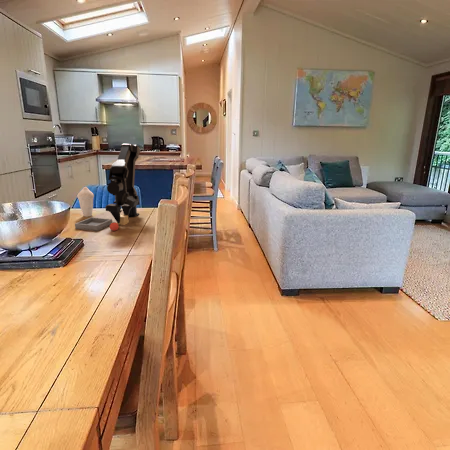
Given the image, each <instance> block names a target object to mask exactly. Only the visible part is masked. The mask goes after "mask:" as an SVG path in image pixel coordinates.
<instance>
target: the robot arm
mask: <svg viewBox="0 0 450 450" xmlns="http://www.w3.org/2000/svg"><path fill="white" fill-rule="evenodd" d="M140 153H141V148H140V146H138V144H132V143H122V144H121V146H120V151H119V154H118V156H117V160H116V161H114V162H113V163H112V164H111V166H110V168H109V174H108V177H107V178H108V181H110V182H109V183H108V184H107V186H106V191H107V192H108V193H109V194H111V195H112V196H114V201H113V203H109V204H107V205H105V212H108V213H110V214H111V215H112V216H113V218H114V220H115V222H116V223H120V215H121V213H122V212H123V215H128V218H129V217H130V218H135V217H137V216H138V215H140V213H139V212H138V211H137V207H138V206H140V197H139V195H138V192H137V190H136V188H135V178H136V177H135V176H136V161H138V159H139V157H140Z"/></svg>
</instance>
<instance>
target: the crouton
mask: <svg viewBox="0 0 450 450" xmlns="http://www.w3.org/2000/svg"><path fill="white" fill-rule="evenodd" d="M116 223H117V222H116ZM129 223H130V222H129V217H128V215H124V214H120V223H117V224H118V225H122V226H125V225H126V224H129Z"/></svg>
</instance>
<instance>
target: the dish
mask: <svg viewBox="0 0 450 450" xmlns="http://www.w3.org/2000/svg"><path fill="white" fill-rule="evenodd" d="M111 223H113V219H112V218H103V217H93V216H90V217H88V218H86V219H84V220H80V221H78V222H75V223H74V228H75V229H76V230H83V231H84V230H85V231H95V232H99V231H100V230H103V229H105V228H107V227H110V224H111Z"/></svg>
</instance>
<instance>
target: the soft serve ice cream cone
mask: <svg viewBox="0 0 450 450" xmlns="http://www.w3.org/2000/svg"><path fill="white" fill-rule="evenodd" d="M76 197H77V199H78V201H79V207H80V210H81V213H82V216H83V217H88V218H89V217H93V209H94V197H95V194H94V193H93V192H92V191H91V190H90V189H89V188H88V187H87V186H84V187H82V188H81V190H80V191H79V192H78V193H77V195H76Z"/></svg>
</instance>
